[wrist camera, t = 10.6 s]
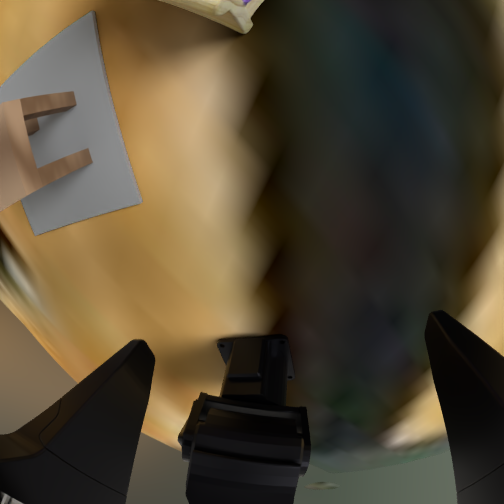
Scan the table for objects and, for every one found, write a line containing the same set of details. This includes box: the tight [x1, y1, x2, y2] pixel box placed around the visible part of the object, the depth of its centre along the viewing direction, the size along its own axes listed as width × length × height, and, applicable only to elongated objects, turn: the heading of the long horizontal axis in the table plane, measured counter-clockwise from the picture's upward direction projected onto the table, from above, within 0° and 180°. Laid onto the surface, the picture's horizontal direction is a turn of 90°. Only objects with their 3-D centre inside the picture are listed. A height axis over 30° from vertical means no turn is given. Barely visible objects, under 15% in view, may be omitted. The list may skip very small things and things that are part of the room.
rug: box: [0, 11, 143, 236], centre depth 17 cm, size 16×14×1 cm
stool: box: [0, 91, 93, 212], centre depth 14 cm, size 6×6×7 cm
